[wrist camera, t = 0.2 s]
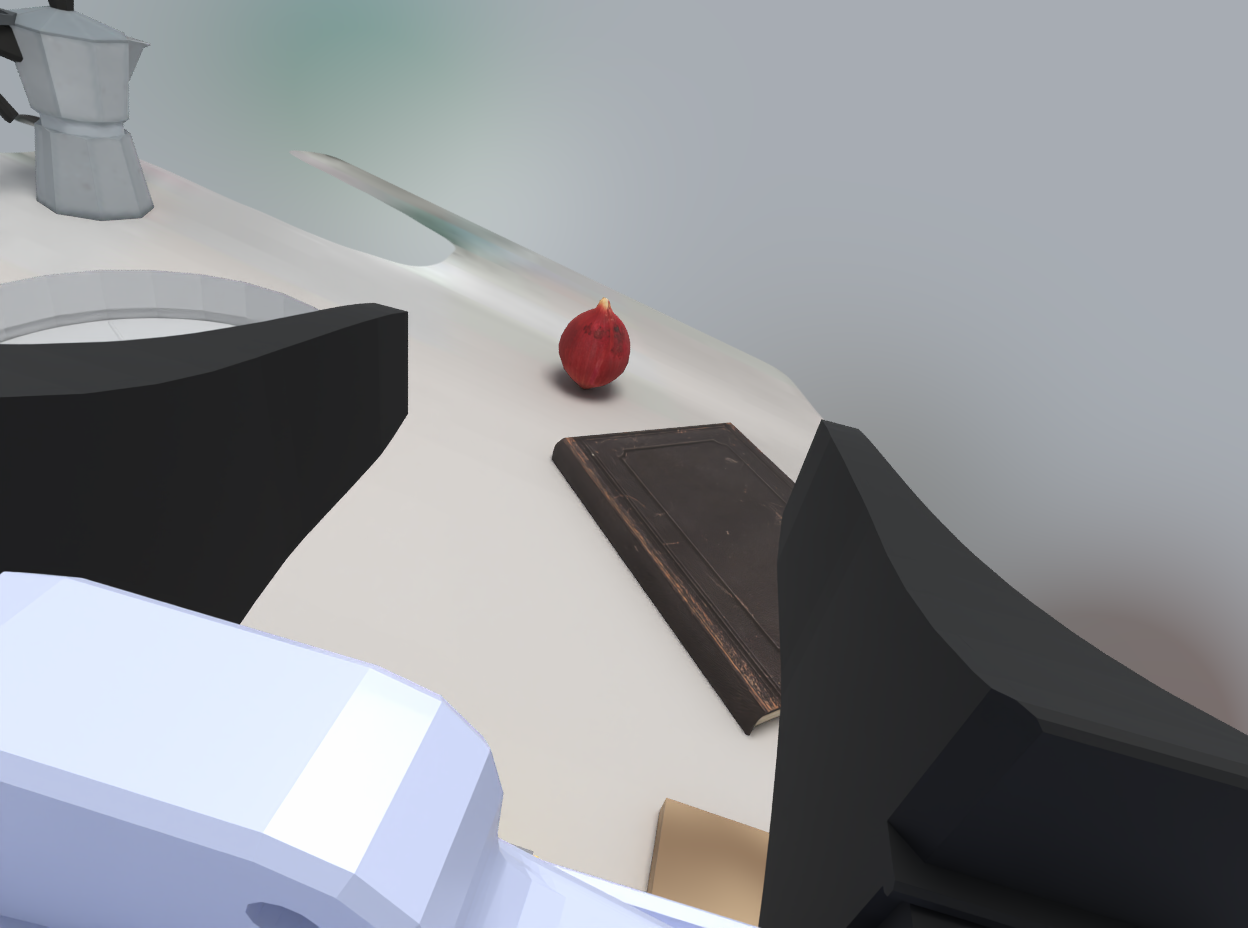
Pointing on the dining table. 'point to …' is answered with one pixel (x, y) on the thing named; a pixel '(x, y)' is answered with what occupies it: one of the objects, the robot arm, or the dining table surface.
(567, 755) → the dining table surface
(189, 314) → the dish
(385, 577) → the dining table surface
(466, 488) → the dining table surface
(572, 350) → the onion
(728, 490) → the hardcover book
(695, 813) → the board
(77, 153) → the coffee maker
